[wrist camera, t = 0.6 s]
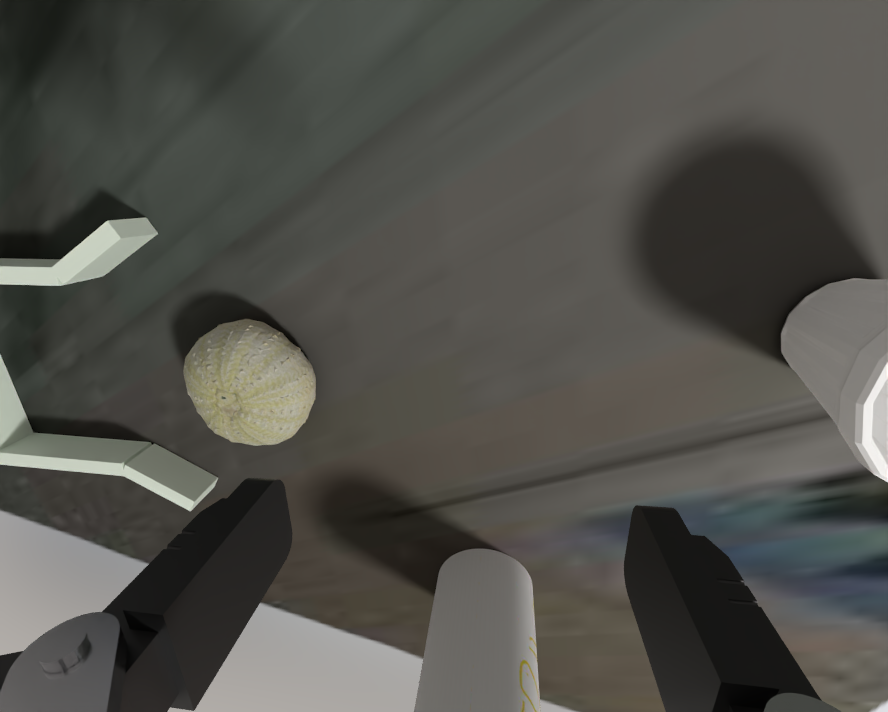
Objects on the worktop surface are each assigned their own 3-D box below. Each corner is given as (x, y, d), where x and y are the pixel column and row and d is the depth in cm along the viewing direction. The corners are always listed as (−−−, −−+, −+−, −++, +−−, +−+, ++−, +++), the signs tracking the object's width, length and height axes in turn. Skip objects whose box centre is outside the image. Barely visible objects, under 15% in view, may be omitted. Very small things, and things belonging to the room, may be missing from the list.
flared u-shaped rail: (-72, 216, 31) (-130, 219, 28) (154, 217, 28) (115, 220, 25) (38, 470, 39) (2, 491, 36) (220, 487, 36) (197, 512, 34)
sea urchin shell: (201, 440, 32) (126, 413, 25) (237, 348, 35) (178, 299, 28) (315, 459, 32) (271, 436, 24) (341, 362, 35) (310, 316, 27)
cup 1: (516, 628, 38) (520, 809, 27) (429, 602, 38) (398, 771, 27) (545, 564, 35) (562, 740, 24) (449, 537, 35) (423, 698, 24)
